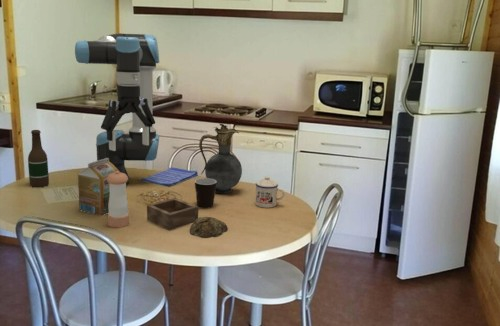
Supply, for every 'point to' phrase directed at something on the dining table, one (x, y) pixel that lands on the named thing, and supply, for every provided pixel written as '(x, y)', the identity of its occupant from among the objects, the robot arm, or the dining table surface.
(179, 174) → the dish towel
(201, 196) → the coffee mug
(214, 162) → the pitcher
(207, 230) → the bread roll
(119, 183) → the pepper shaker
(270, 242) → the dining table surface
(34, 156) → the beer bottle
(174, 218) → the square wooden tray
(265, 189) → the teacup with lid
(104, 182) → the milk carton
